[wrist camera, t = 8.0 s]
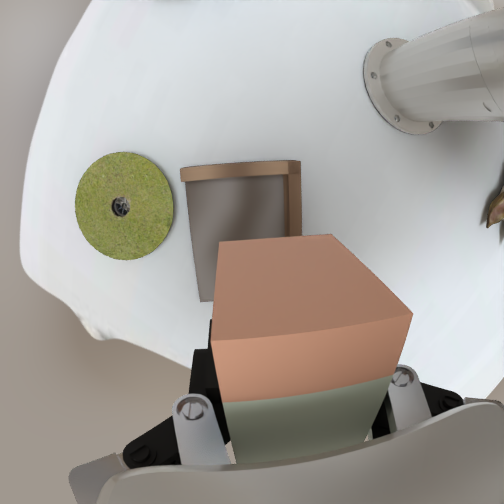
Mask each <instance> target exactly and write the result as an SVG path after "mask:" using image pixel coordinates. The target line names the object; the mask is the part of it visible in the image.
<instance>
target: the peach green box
mask: <svg viewBox="0 0 504 504" xmlns="http://www.w3.org/2000/svg"><path fill="white" fill-rule="evenodd" d="M412 316H413V313H412V312H411V311H410V310H409V309H408V307H407V306H406V305H405V304H404V303H403V302H402V301H401V300H400V299H399V298H398V297H397V296H396V295H395V294H394V293H393V292H392V291H391V290H390V289H389V288H388V287H387V286H386V285H385V284H384V283H383V282H382V281H381V280H380V279H379V278H378V277H377V276H376V275H375V274H374V273H372V272H371V271H370V270H369V269H368V268H367V267H366V266H365V265H364V264H363V263H362V262H361V261H360V260H359V259H358V258H357V257H356V256H355V255H354V254H352V253H351V252H350V251H349V250H348V249H347V248H346V247H345V246H344V245H343V244H342V243H341V242H339V241H338V240H337V239H336V238H335V237H334V236H333V235H332V234H325V235H309V236H294V237H279V238H265V239H251V240H237V241H224V242H219V250H218V260H217V270H216V281H215V292H214V303H213V316H212V328H211V346H212V352H213V357H214V363H215V368H216V373H217V378H218V383H219V388H220V393H221V398H222V403H223V408H224V412H225V417H226V421H227V426H228V430H229V434H230V439H231V442H232V447H233V451H234V455H235V459H236V463H237V464H243V463H256V462H266V461H275V460H282V459H289V458H296V457H302V456H307V455H313V454H318V453H323V452H327V451H332V450H336V449H340V448H344V447H348V446H352V445H356V444H359V443H363V442H364V440H365V438H366V436H367V434H368V432H369V430H370V428H371V426H372V424H373V422H374V420H375V418H376V416H377V413H378V411H379V409H380V407H381V405H382V402H383V400H384V398H385V395H386V393H387V390H388V388H389V385H390V383H391V380H392V378H393V375H394V372H395V370H396V367H397V364H398V361H399V358H400V355H401V352H402V349H403V346H404V343H405V340H406V337H407V333H408V330H409V327H410V323H411V320H412Z"/></svg>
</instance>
